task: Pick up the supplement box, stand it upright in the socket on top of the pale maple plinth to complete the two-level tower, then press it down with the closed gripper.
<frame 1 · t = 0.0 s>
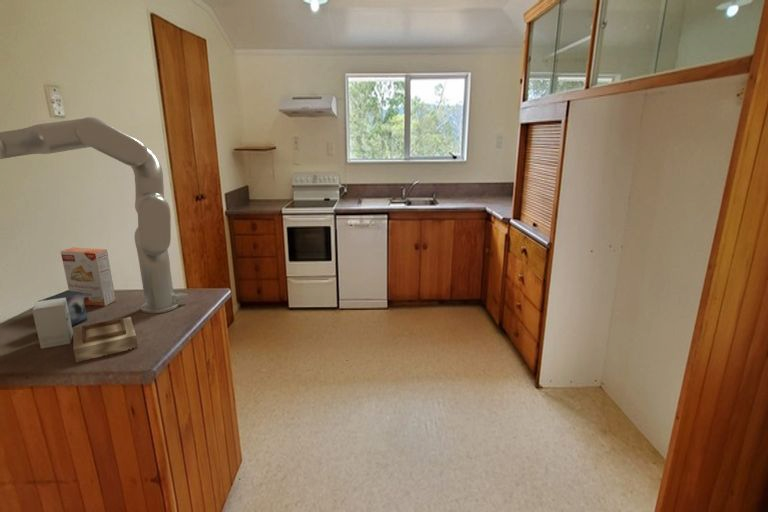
small box: (66, 326, 136), on the countertop
supplement box: (58, 342, 126), on the countertop
maple plinth: (106, 343, 125), on the countertop
cracker box: (94, 303, 155), on the countertop
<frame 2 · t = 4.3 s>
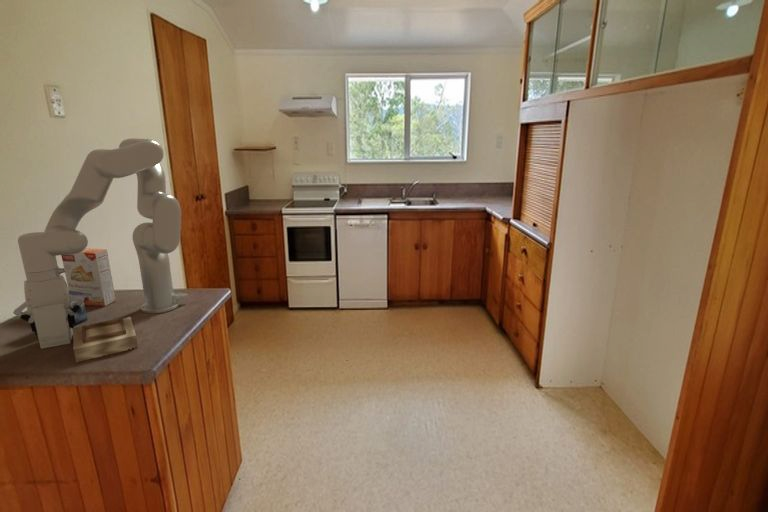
hand: (55, 329, 125), 4 cm above the countertop, tool pointing down, fingers closed on supplement box, 7 cm apart
supplement box: (58, 341, 126), on the countertop, touching gripper
everything else where it was.
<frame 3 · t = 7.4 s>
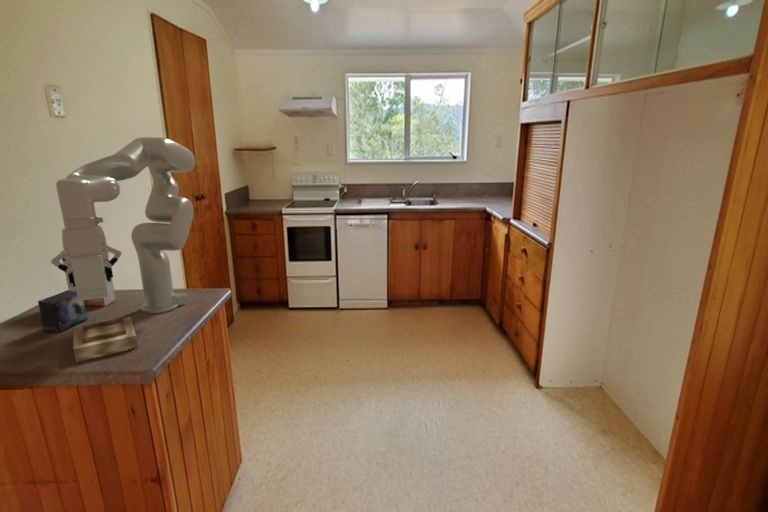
hand: (92, 282, 120), 20 cm above the countertop, tool pointing down, fingers closed on supplement box, 7 cm apart
supplement box: (95, 295, 121), point 15 cm above the countertop, touching gripper
everything else where it was.
when the fingers open (10 cm above the countertop, at t = 10.4 s): supplement box drops 2 cm, resting on maple plinth.
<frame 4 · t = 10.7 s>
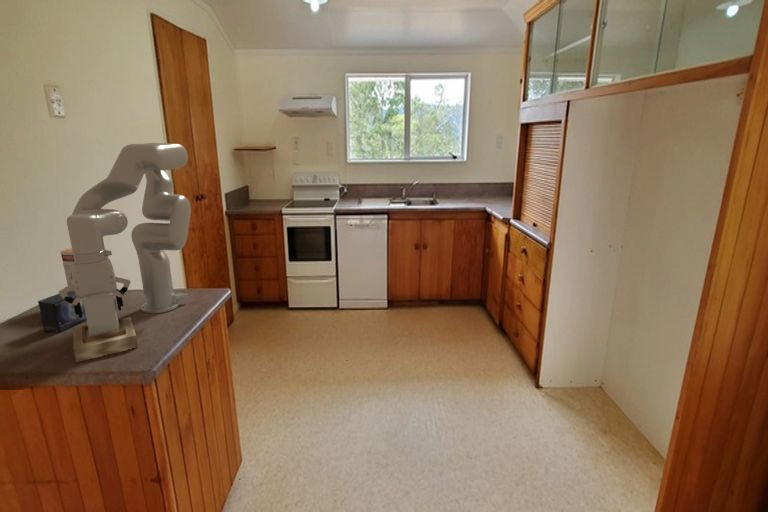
hand: (100, 312, 122), 10 cm above the countertop, tool pointing down, fingers open, 9 cm apart
supplement box: (105, 331, 124), point 4 cm above the countertop, touching maple plinth
everything else where it was.
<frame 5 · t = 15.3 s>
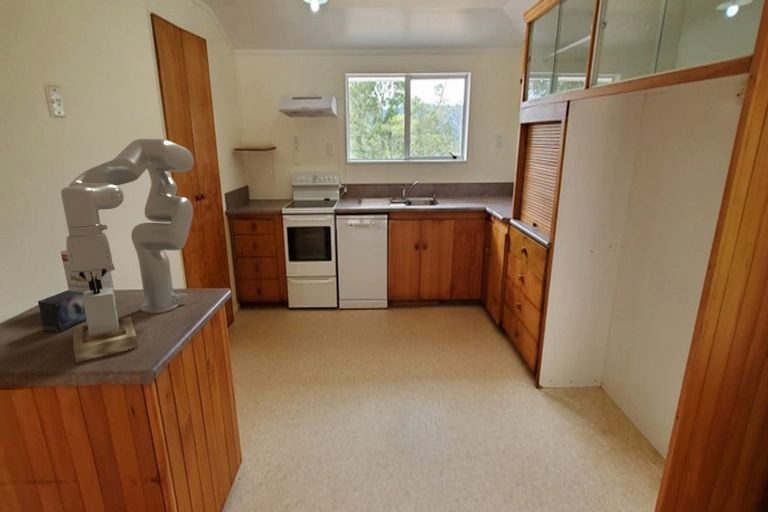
hand: (96, 292, 120), 17 cm above the countertop, tool pointing down, fingers closed
nothing on the countertop moved.
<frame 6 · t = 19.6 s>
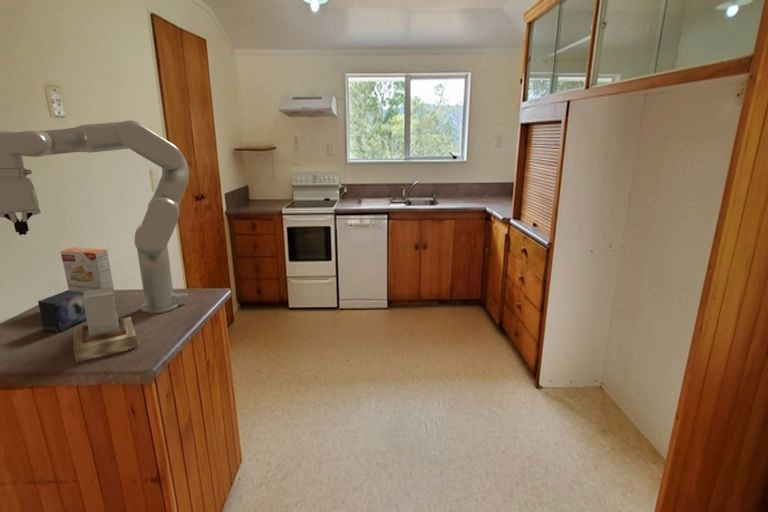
hand: (23, 234, 127), 31 cm above the countertop, tool pointing down, fingers closed
nothing on the countertop moved.
at the end: supplement box 0.3 cm off-centre on the maple plinth, point 3.8 cm above the maple plinth's base; supplement box tilted 0°; the gripper is holding nothing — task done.
